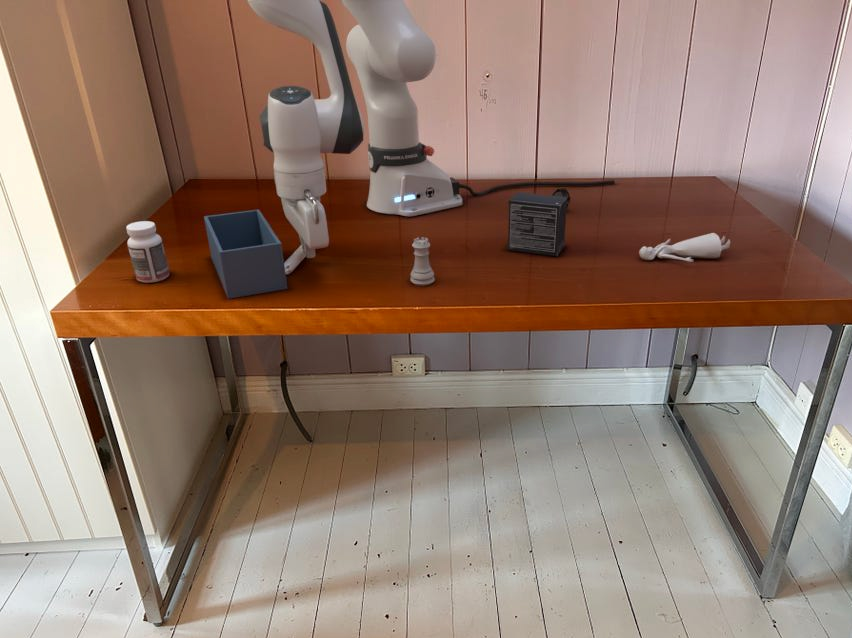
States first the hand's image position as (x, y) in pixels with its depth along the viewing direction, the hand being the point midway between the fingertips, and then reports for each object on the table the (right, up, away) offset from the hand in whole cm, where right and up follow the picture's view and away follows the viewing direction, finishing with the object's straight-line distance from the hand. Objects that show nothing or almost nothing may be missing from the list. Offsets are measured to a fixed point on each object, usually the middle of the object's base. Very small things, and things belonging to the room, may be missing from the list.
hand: (309, 255), depth 137 cm
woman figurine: (+72, 0, +5) cm, 73 cm away
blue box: (-10, -4, -3) cm, 12 cm away
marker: (-2, -1, +3) cm, 4 cm away
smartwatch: (+51, +15, +30) cm, 61 cm away
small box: (+44, +2, +9) cm, 45 cm away
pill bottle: (-27, -5, -5) cm, 28 cm away
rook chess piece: (+22, -6, -6) cm, 24 cm away
